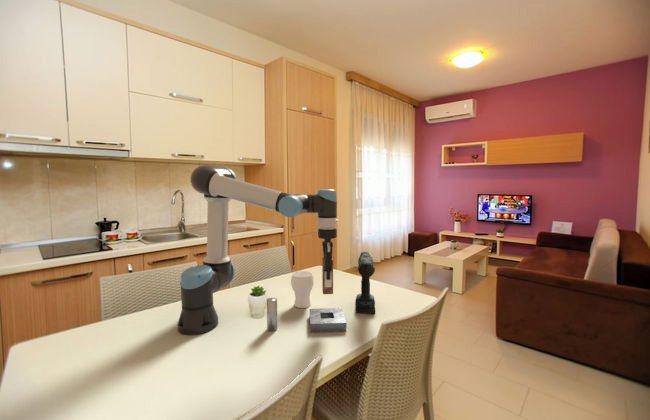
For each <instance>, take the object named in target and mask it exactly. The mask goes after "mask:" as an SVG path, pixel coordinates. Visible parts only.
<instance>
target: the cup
mask: <svg viewBox="0 0 650 420" xmlns="http://www.w3.org/2000/svg"><path fill="white" fill-rule="evenodd" d="M290 285H291V288H292V290H293V292H294V296H295V298H294V299H295V300H294V304H293V305H294V306H295V307H296V308H298V309H306V308H309V307H311V297H310V296H311V291H312V290H313V287H314V274H313V273H312V272H311V271H308V270H307V271H304V270H301V271H294V272H293V273H292V275H291V279H290ZM295 307H294V308H295Z"/></svg>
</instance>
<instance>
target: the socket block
mask: <svg viewBox="0 0 650 420" xmlns="http://www.w3.org/2000/svg"><path fill="white" fill-rule="evenodd" d="M345 316H346V315H345V313H344V311H343V307H329V308H327V307H326V308H309V328H310V333H311V334H313V333H314V334H315V333H316V334H317V333H335V332H336V333H337V332H343V333H344V332H347V330H348V329H347V320H346V317H345Z"/></svg>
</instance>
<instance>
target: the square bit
mask: <svg viewBox="0 0 650 420" xmlns="http://www.w3.org/2000/svg"><path fill="white" fill-rule="evenodd" d="M321 260H322V267H321V268H322V269H321V271H322V272H321V273H322V275H321V277H322V278H321V280H322V281H321V282H322V286H321V287H322V288H321V289H322V295H334V259H333V257H332V287H325V272H323V270H325V258H323V257H322V259H321Z"/></svg>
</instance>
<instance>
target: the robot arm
mask: <svg viewBox="0 0 650 420" xmlns="http://www.w3.org/2000/svg"><path fill="white" fill-rule="evenodd" d="M190 185H191V187H192V188H193V190H195V191H196V192H197V193H199V194H201V195H202V194H203V198H204V200H206V201H207V216H206V217H207V222H206V224H207V227H206V232H207V233H206V256H205V257H204V258H203V259H202V264H200V265H199V264H198V265H195V266H191V267H190V266H189V267H188V268H186V269H185V270H183V271H182V272H181V275H180V281H179V283H180V284H179V286H180V297H181V299H180V300H181V311H180V314H179V317H178V318H179V319H178V320H177V321H178V322H177V332H178V333H180V334H181V335H187V336H189V335H191V336H192V335H201V334H205V333H207V332H210V331H212V330H214V329H215V328H216V327H218V325H219V316H218V313H217V311H216V308H215V305H214V294H215V293H216V292H218V291H220V290H221V289H224V288H225V287H227V286H228V285H229V284H230V283H231V282H232V281H234V278H235V277H236V276H235V275H236V268H235V266H234V264H233V262H232V257H230V256H229V255H228V249H229V248H228V245H229V244H228V242H229V240H228V239H229V205H230V204H229V203H230V201H231V200H235V201H238V202H242V203H245V204H250V205H251V206H256V207H260V208H263V209H267V210H271V211H273V212H277V213H280V214H281V215H282V216H284V217H286V218H294V217H297V216H298V215H303V214H317V228H318V230H317V236H318V238H319V239H322V240H323V241H322V242H321V243H322V253H323V255H322V258H325V270H323V272H325V287H332V258H333V245H334V244H333V242H332V239H336V238H337V236H338V232H337V231H338V229H337V226H338V225H337V224H338V222H339V219H337V217H338V216H337V214H338V211H337V208H338V207H337V204H338V199H337V191H336V190H335V189H331V188H330V189H328V188H327V189H318V190H317V193H316V194H315V193H314V194H309V193H308V194H306V193H304V194H303V193H302V194H301V193H296V194H290V193H286V192H283V191H280V190H276V189H272V188H269V187H265V186H262V185H258V184H253V183H251V182H246V181H243V180H239V179H238V178H237V176H236V173H235V172H234V171H233V170H232V169H230V168H228V167H224V166H218V165H217V166H216V165H207V164H203V165H200V166H197V167H196V168H194V170H193V171H192V172H191V175H190Z"/></svg>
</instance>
